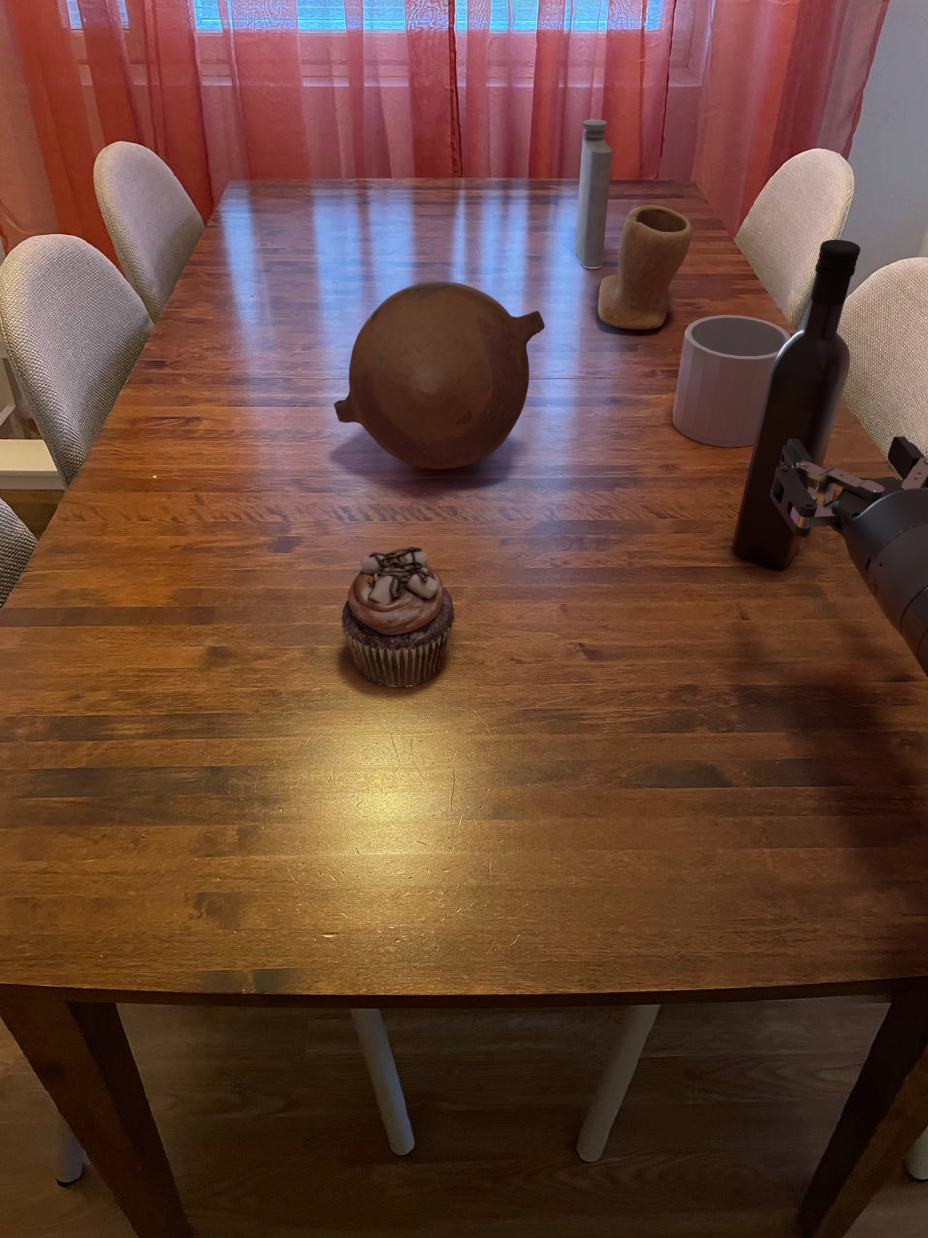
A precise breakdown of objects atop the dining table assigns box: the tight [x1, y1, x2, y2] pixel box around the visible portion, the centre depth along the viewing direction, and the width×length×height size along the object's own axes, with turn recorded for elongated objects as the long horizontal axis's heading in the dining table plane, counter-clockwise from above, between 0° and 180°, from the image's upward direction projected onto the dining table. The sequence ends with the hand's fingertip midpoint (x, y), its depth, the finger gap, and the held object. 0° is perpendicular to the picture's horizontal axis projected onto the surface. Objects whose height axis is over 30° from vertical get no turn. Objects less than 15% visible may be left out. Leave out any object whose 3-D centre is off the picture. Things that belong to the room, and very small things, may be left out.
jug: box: [333, 280, 546, 470], centre depth 107 cm, size 20×20×30 cm
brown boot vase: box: [597, 204, 693, 331], centre depth 134 cm, size 15×12×15 cm
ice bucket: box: [671, 314, 792, 448], centre depth 111 cm, size 12×12×11 cm
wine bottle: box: [730, 239, 862, 570], centre depth 85 cm, size 6×6×30 cm
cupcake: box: [340, 546, 456, 688], centre depth 80 cm, size 10×10×10 cm
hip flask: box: [574, 119, 613, 267], centre depth 152 cm, size 16×4×20 cm, turn 179°
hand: (842, 447), depth 76 cm, fingers open, 8 cm apart
